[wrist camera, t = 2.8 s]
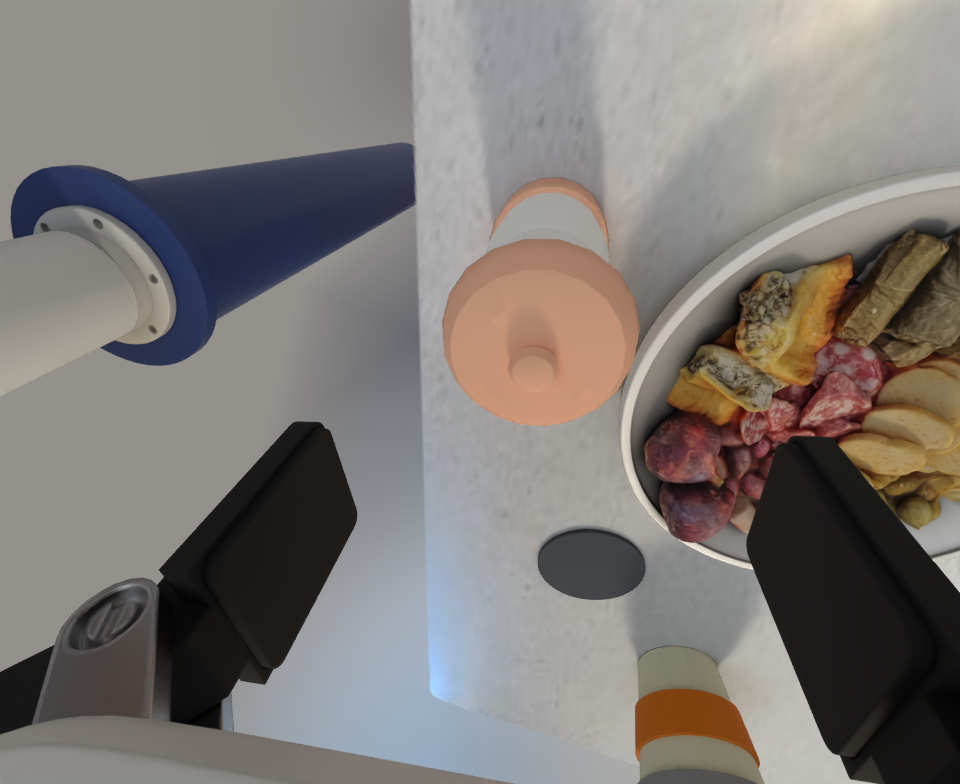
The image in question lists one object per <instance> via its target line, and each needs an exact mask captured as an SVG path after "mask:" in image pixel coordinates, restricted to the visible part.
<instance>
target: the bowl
mask: <svg viewBox="0 0 960 784" xmlns="http://www.w3.org/2000/svg"><path fill="white" fill-rule="evenodd" d="M792 436H824V437H830V438H832V439H833V440H834V441H835V442H836V443H837V444H838V445H839V447H840V448H841V449H842V450H843V452H844V453H845V454H846V455H847V456H848V458H849V459H850V460H851V461H852V462H853V464H854V465H855V466H856V467H857V469H858V470H859V471H860V472H861V473H862V475H863V476H864V477H865V478H866V479H867V481H868V482H869V483H870V484H871V486H872V487H873V488H874V489H875V490H876V492H877V493H878V494H879V495H880V496H881V498H882V499H883V500H884V501H885V503H886V504H887V505H888V506H889V507H890V509H891V510H892V511H893V512H894V514H895V515H896V516H897V517H898V518H899V520H900V521H901V522H902V523H903V524H904V526H905V527H906V528H907V529H908V531H909V532H910V533H911V534H912V535H913V537H914V538H915V539H916V540H917V541H918V543H919V544H920V545H921V546H922V548H923V549H924V550H925V551H926V552H927V554H928V555H929V556H930V557H931V558H932V560H933V561H934V562H935V563H939V562H943V561H946V560H950V559H954V558H957V557H960V166H956V167H944V168H936V169H929V170H922V171H916V172H911V173H906V174H900V175H895V176H891V177H887V178H883V179H879V180H875V181H871V182H867V183H864V184H861V185H857V186H854V187H851V188H848V189H845V190H842V191H839V192H836V193H834V194H831V195H828V196H825V197H823V198H820V199H818V200H816V201H813V202H811V203H809V204H806V205H804V206H801V207H799V208H797V209H795V210H793V211H791V212H789V213H787V214H785V215H783V216H781V217H779V218H777V219H775V220H773V221H772V222H770V223H768V224H766V225H764V226H762V227H761V228H759V229H758V230H756V231H754V232H753V233H751V234H749V235H748V236H746V237H745V238H743V239H742V240H740V241H739V242H737V243H736V244H734V245H733V246H731V247H730V248H728V249H727V250H726V251H725V252H723V253H722V254H721V255H719V256H718V257H717V258H715V259H714V260H713V261H712V262H710V263H709V264H708V265H707V266H706V267H704V268H703V269H702V270H701V271H700V272H699V273H698V274H697V275H696V276H694V277H693V278H692V279H691V280H690V281H689V282H688V283H687V284H686V285H685V286H684V287H683V288H682V289H681V290H680V291H679V292H678V293H677V295H676V296H675V297H674V298H673V299H672V300H671V301H670V303H669V304H668V305H667V306H666V307H665V309H664V310H663V311H662V313H661V314H660V315H659V317H658V318H657V319H656V321H655V322H654V324H653V325H652V327H651V328H650V330H649V331H648V333H647V335H646V336H645V338H644V340H643V341H642V343H641V345H640V347H639V349H638V351H637V353H636V355H635V358H634V361H633V364H632V367H631V368H630V370H629V372H628V375H627V378H626V381H625V384H624V388H623V393H622V397H621V403H620V411H619V441H620V449H621V454H622V460H623V464H624V468H625V472H626V475H627V477H628V480H629V483H630V485H631V487H632V489H633V491H634V493H635V494H636V496H637V498H638V500H639V501H640V502H641V504H642V505H643V507H644V508H645V509H646V511H647V512H648V513H649V514H650V515H651V516H652V517H653V519H654V520H655V521H656V522H657V523H658V524H660V525H661V526H662V527H663V528H664V529H665V530H666V531H668V532H669V533H670V534H671V535H673V536H674V537H676V538H677V539H679V540H680V541H681V542H683V543H685V544H686V545H688V546H690V547H692V548H693V549H695V550H697V551H699V552H701V553H703V554H706V555H708V556H710V557H713V558H715V559H718V560H720V561H723V562H726V563H729V564H732V565H736V566H739V567H742V568H747V569H751V570H754V569H753V567H752V564H751V562H750V560H749V557H748V554H747V548H746V540H747V536H748V533H749V530H750V527H751V524H752V521H753V518H754V514H755V511H756V508H757V505H758V502H759V499H760V496H761V493H762V490H763V487H764V484H765V481H766V478H767V475H768V472H769V469H770V466H771V463H772V460H773V457H774V454H775V451H776V449H777V447H778V445H779V444H780V443H787V441H788V439H789V438H790V437H792Z"/></svg>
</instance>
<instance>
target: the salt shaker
mask: <svg viewBox="0 0 960 784" xmlns="http://www.w3.org/2000/svg"><path fill="white" fill-rule="evenodd" d="M608 246H609V236H608V231H607V225H606V220H605V218H604V216H603V213H602V211H601V209H600V207H599V206H598V204H597V202H596V201H595V199H594V197H593V195H592V194H590V193H589V192H588V191H587V190H586V189H584V188H583V187H582V186H581V185H580V184H578V183H575V182H572V181H569V180H567V179H564V178H542V179H539V180H536V181H534V182H531V183H528V184H526V185H525V186H523V187H522V188H521V189H519V190H518V191H517V192H516V193H514V194H513V195H512V196H511V197H510V199H509V200H508V202H507V203H506V205H505V206H504V208H503V209H502V211H501V212H500V214H499V215H498V217H497V218H496V220H495V223H494V226H493V229H492V233H491V236H490V243H489V246H488V249H487V253H486V254H485V255H484V256H483V257H481V258H480V259H478V260H477V261H476V262H474V263H473V264H472V265H470V266H469V267H468V268H466V270H465V271H464V273H463V274H462V276H461V277H460V279H459V280H458V282H457V283H456V285H455V286H454V287H453V289H452V290H451V292H450V294H449V297H448V301H447V305H446V309H445V312H444V316H443V320H442V325H443V340H444V353H445V358H446V360H447V362H448V365H449V367H450V369H451V372H452V374H453V377H454V379H455V380H456V382H457V383H458V384H459V385H460V386H461V388H462V389H463V390H464V391H465V392H466V393H467V395H468V396H469V397H470V398H471V399H472V400H473V401H474V402H476V403H477V404H479V405H480V406H482V407H483V408H485V409H486V410H488V411H489V412H491V413H492V414H494V415H495V416H497V417H500V418H503V419H506V420H509V421H512V422H515V423H518V424H524V425H537V426H547V425H552V424H558V423H563V422H569V421H572V420H574V419H576V418H578V417H580V416H582V415H584V414H586V413H589V412H591V411H593V410H595V409H597V408H598V407H600V406H601V405H602V404H603V403H604V402H605V401H606V400H607V399H608V398H610V397H611V396H612V395H613V394H614V393H615V392H616V391H617V390H618V389H619V387H620V386H621V384H622V382H623V381H624V379H625V377H626V375H627V374H628V372H629V370H630V368H631V367H632V364H633V361H634V358H635V353H636V347H637V342H638V336H639V331H640V326H639V321H638V315H637V310H636V304H635V299H634V297H633V295H632V294H631V292H630V290H629V289H628V287H627V285H626V284H625V282H624V280H623V279H622V277H621V275H620V274H619V272H618V271H617V270H616V269H614V268H613V267H612V266H611V265H609V253H608Z"/></svg>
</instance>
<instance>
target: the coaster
mask: <svg viewBox="0 0 960 784" xmlns="http://www.w3.org/2000/svg"><path fill="white" fill-rule="evenodd" d="M538 568H539V571H540V573H541V575H542V577H543V578H544V580H545V581H546V582H547V583H548V584H549V585H551V586H552V587H553V588H555V589H556V590H558V591H560V592H562V593H564V594H567V595H569V596H573V597H576V598H581V599H589V600H603V599H611V598H615V597H619V596H622V595H624V594H626V593H628V592H630V591H632V590H633V589H634V588H636V587H637V586H638V585H639V584H640V582H641V581H642V579H643V577H644V574H645V563H644V559H643V556H642V555H641V553H640V551H639V550H638V549H637V548H636V547H635V546H634V545H633V544H632V543H630V542H629V541H628V540H626V539H624V538H622V537H620V536H618V535H615V534H612V533H609V532H605V531H600V530H575V531H570V532H566V533H563V534H560V535H558V536H556V537H554V538H552V539H551V540H549V541H548V542H547V543H546V544H545V545H544V546H543V548H542V549H541V551H540V553H539V557H538Z"/></svg>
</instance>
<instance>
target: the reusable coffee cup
mask: <svg viewBox="0 0 960 784" xmlns="http://www.w3.org/2000/svg"><path fill="white" fill-rule="evenodd" d="M638 684H639V701H638V702H637V704H636V706H635V744H636V757H637V759H638V761H639V762H640V781H639V783H638V784H764V781H763V779H762V776H761V774H760V772H759V769H758V768H759V766H760V762H759V758H758V756H757V753H756V751H755V748H754V746H753V744H752V741H751V739H750V737H749V734H748V732H747V729H746V727H745V725H744V722H743V720H742V717H741V715H740V713H739V711H738V709H737V707H736V706H735V705H734V704H732V703H731V701H730V699H729V696H728V694H727V691H726V689H725V686H724V684H723V681H722V679H721V677H720V674H719V672H718V669H717V667H716V664H715V663H714V661H713V659H711V658H710V657H709V656H708V655H706V654H705V653H703V652H700V651H698V650H695V649H691V648H686V647H678V646H669V647H660V648H656V649H653V650H650V651H648V652H646V653H645V654H643V655H642V656H641V658H640V659H639V661H638Z"/></svg>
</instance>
